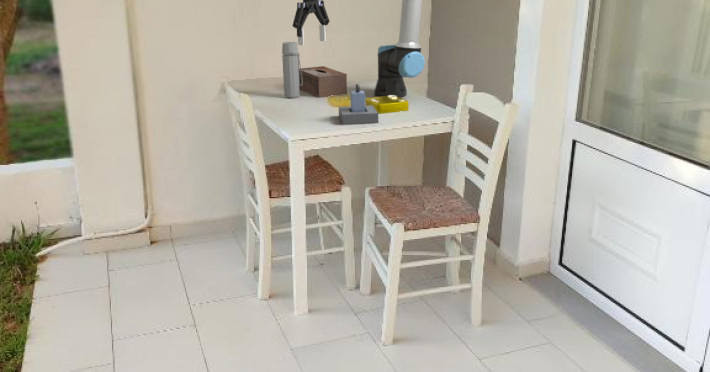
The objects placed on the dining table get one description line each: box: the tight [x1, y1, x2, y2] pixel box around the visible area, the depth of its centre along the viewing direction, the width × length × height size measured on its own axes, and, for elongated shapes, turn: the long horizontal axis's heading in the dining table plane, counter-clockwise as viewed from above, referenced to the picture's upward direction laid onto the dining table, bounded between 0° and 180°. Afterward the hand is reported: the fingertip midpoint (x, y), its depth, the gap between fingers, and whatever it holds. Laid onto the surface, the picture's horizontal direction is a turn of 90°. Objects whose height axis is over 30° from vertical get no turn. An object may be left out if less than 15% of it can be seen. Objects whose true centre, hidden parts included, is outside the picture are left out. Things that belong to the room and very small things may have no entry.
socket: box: [338, 105, 379, 126], centre depth 264 cm, size 14×14×4 cm
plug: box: [350, 83, 366, 112], centre depth 262 cm, size 5×5×13 cm
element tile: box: [365, 95, 410, 115], centre depth 282 cm, size 15×15×5 cm
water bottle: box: [281, 41, 303, 99], centre depth 305 cm, size 9×8×25 cm
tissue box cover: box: [299, 65, 348, 99], centre depth 318 cm, size 26×14×10 cm, turn 28°
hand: (312, 43), depth 269 cm, fingers open, 13 cm apart
